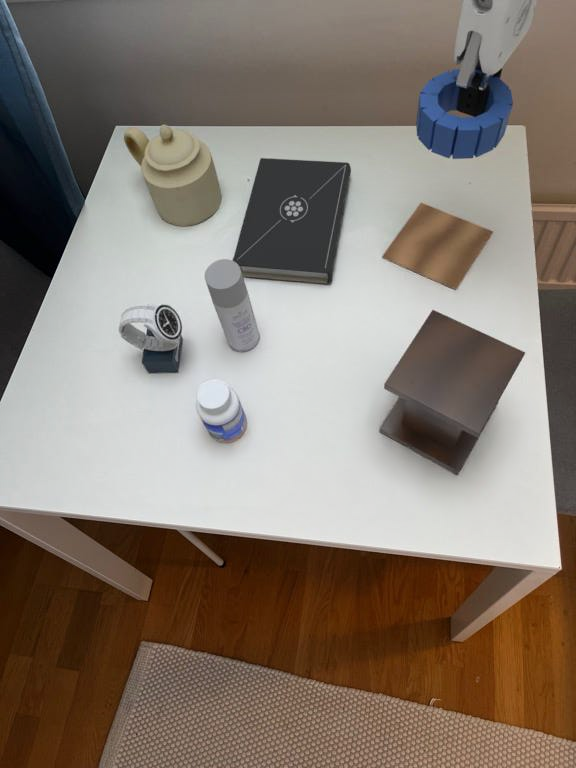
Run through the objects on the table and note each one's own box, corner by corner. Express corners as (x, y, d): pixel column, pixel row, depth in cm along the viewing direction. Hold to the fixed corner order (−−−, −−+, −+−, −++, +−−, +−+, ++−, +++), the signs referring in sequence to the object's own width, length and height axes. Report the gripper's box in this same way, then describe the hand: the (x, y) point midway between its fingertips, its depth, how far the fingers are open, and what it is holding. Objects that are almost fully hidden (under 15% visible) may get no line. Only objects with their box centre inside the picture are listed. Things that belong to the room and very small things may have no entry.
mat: (492, 233, 87) (493, 231, 86) (455, 290, 83) (456, 288, 82) (420, 204, 90) (420, 202, 90) (382, 257, 87) (382, 256, 86)
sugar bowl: (127, 224, 95) (90, 151, 81) (144, 174, 100) (112, 97, 86) (215, 228, 92) (191, 153, 79) (228, 177, 97) (208, 98, 84)
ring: (517, 114, 68) (527, 84, 65) (480, 170, 65) (488, 141, 61) (440, 89, 71) (445, 59, 68) (401, 141, 68) (404, 112, 65)
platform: (496, 405, 74) (525, 352, 62) (457, 475, 71) (479, 434, 58) (419, 367, 78) (432, 309, 66) (378, 431, 75) (384, 383, 62)
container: (247, 357, 81) (227, 295, 68) (221, 343, 83) (195, 280, 69) (266, 332, 83) (249, 267, 70) (239, 319, 84) (218, 252, 71)
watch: (192, 372, 81) (170, 331, 71) (136, 373, 82) (107, 332, 72) (196, 337, 84) (175, 293, 74) (142, 338, 85) (114, 295, 75)
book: (331, 285, 85) (331, 272, 83) (235, 276, 88) (231, 264, 85) (351, 176, 94) (351, 162, 92) (262, 171, 97) (260, 157, 94)
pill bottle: (199, 425, 77) (180, 394, 69) (229, 398, 79) (214, 364, 70) (226, 451, 75) (209, 423, 67) (256, 423, 77) (243, 392, 68)
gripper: (515, -13, 49) (474, 159, 65) (589, -108, 54) (533, 74, 70) (435, -34, 51) (414, 137, 68) (513, -122, 56) (476, 56, 73)
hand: (475, 104), depth 69 cm, fingers closed on ring, 2 cm apart
